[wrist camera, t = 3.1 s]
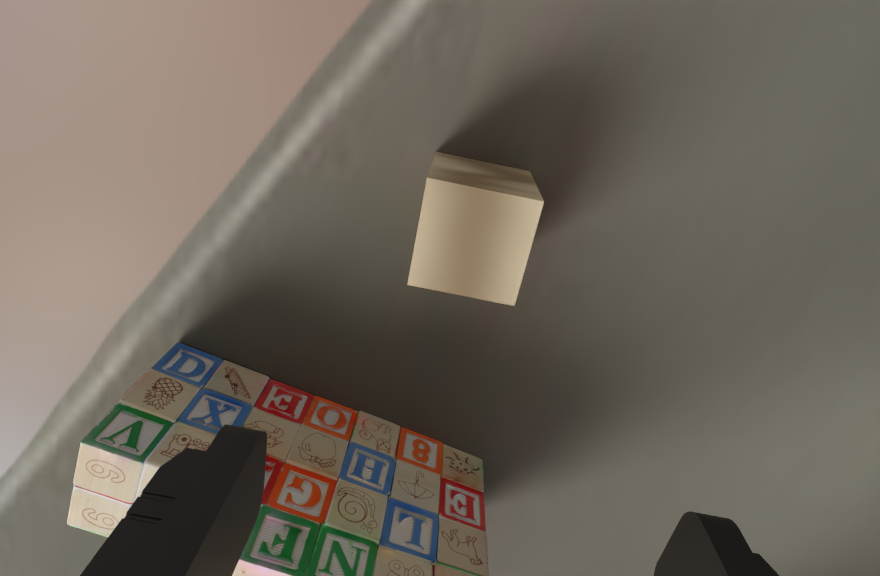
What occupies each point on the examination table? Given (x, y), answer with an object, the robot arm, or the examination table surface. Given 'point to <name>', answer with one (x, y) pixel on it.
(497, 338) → the examination table surface
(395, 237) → the examination table surface
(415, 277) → the birch block
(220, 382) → the stack of blocks
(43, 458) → the examination table surface
